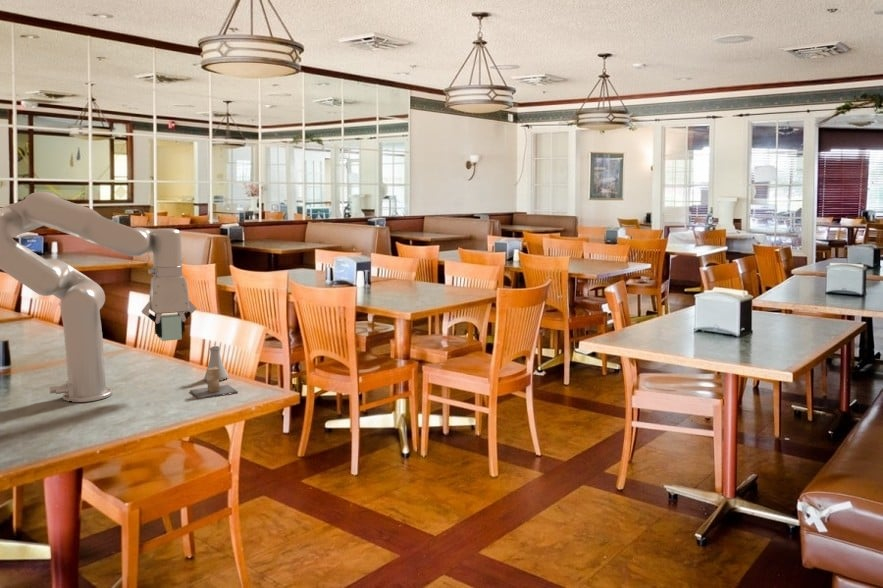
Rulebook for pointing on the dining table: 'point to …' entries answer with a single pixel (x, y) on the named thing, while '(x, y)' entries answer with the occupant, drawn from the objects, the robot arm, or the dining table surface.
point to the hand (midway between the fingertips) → (170, 335)
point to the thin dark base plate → (213, 386)
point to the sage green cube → (171, 327)
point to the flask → (216, 362)
